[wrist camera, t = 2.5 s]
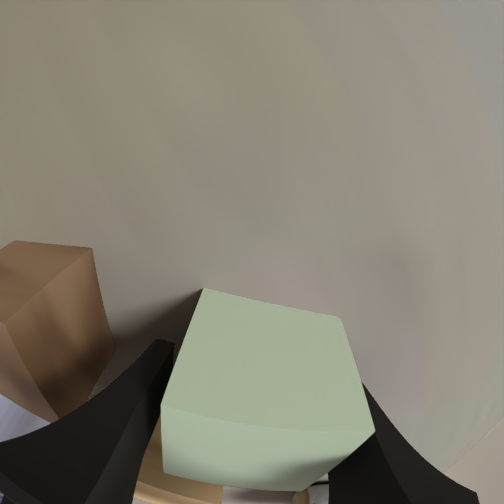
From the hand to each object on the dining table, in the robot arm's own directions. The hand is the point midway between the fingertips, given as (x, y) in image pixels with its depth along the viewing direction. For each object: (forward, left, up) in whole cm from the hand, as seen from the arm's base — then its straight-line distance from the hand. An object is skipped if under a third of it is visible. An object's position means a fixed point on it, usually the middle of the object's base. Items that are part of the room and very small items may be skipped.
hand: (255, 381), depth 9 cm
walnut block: (0, +9, -2) cm, 9 cm away
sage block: (0, 0, -2) cm, 2 cm away
